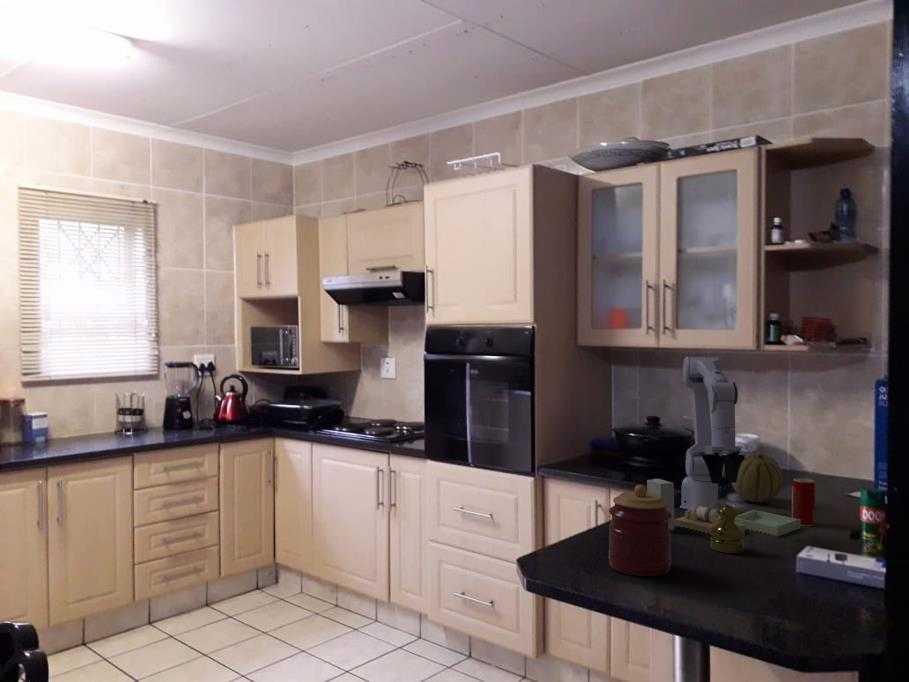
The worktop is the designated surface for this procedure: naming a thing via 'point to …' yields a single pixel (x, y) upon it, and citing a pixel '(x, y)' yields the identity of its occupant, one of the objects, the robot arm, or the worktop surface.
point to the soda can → (803, 501)
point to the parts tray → (768, 522)
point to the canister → (640, 534)
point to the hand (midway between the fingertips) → (724, 482)
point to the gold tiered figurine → (727, 532)
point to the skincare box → (663, 494)
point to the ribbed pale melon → (758, 478)
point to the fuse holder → (699, 522)
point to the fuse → (705, 513)
